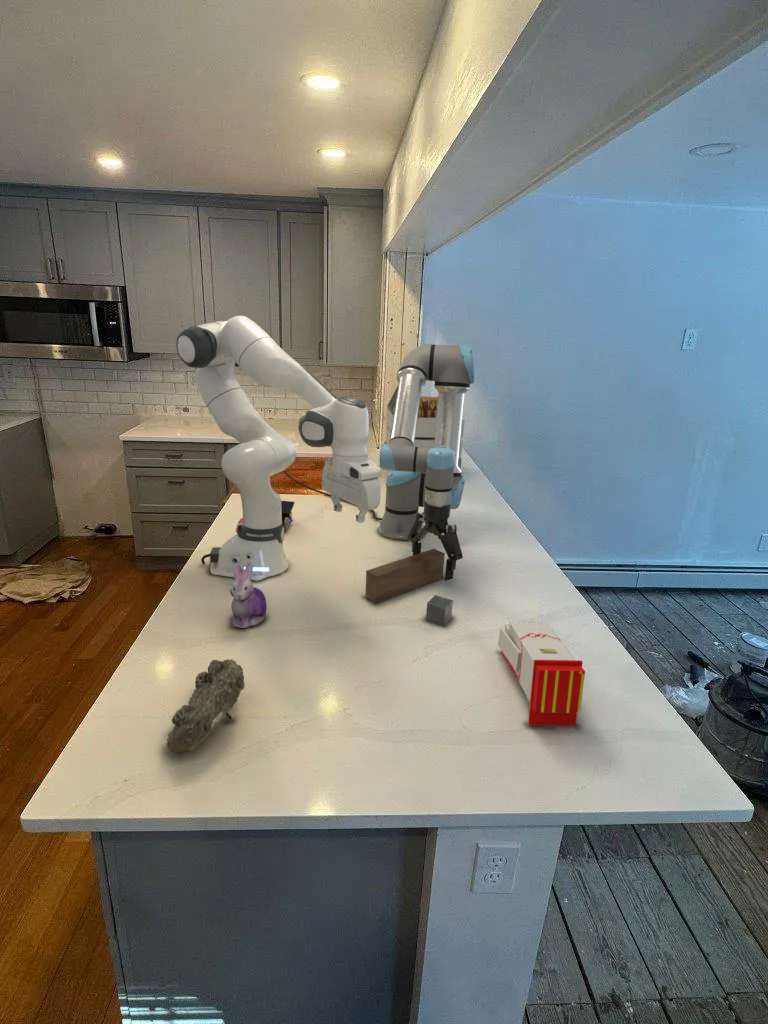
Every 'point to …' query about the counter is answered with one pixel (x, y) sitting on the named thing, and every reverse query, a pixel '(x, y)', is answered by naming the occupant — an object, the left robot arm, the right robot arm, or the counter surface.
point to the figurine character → (287, 513)
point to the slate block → (439, 610)
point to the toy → (544, 672)
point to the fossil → (206, 705)
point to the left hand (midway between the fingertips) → (348, 516)
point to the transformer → (421, 423)
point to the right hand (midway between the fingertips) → (432, 571)
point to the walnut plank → (404, 575)
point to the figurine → (246, 599)
